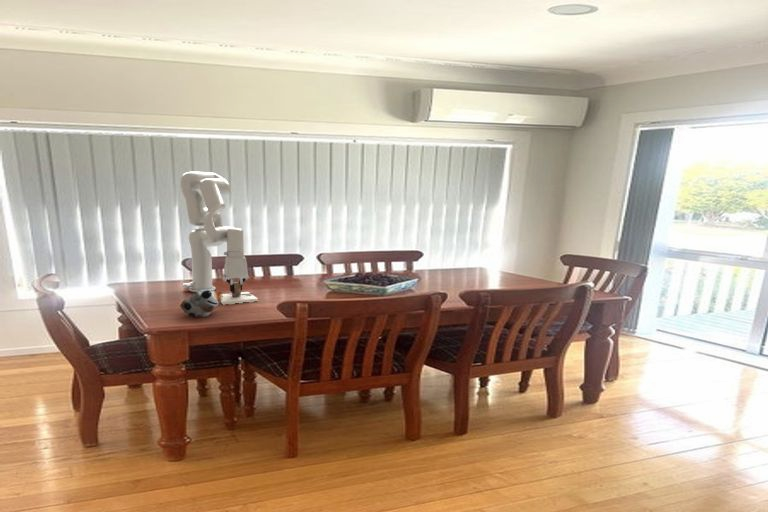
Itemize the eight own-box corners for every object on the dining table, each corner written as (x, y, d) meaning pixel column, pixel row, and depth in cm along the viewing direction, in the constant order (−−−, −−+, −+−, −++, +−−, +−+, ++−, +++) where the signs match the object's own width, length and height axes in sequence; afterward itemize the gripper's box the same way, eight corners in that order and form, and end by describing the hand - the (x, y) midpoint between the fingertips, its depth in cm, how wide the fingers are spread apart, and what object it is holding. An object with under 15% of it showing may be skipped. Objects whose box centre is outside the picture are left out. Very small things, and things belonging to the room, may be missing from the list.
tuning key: (233, 297, 238) (233, 284, 237) (230, 294, 244) (229, 282, 243) (254, 295, 243) (254, 283, 242) (250, 293, 249) (250, 280, 248)
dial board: (223, 305, 232) (222, 301, 231) (215, 297, 245) (215, 294, 245) (257, 301, 240) (257, 298, 239) (248, 294, 253) (248, 291, 253)
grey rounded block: (205, 308, 225) (219, 282, 222) (217, 324, 218) (232, 297, 215) (174, 304, 213) (189, 276, 210) (186, 321, 206) (201, 292, 203)
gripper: (219, 256, 232) (220, 295, 235) (254, 254, 240) (255, 292, 243) (215, 254, 238) (216, 292, 241) (250, 252, 247) (250, 289, 249)
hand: (236, 292), depth 242 cm, fingers closed on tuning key, 2 cm apart
